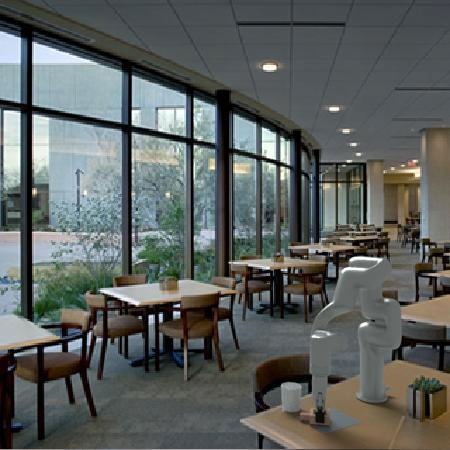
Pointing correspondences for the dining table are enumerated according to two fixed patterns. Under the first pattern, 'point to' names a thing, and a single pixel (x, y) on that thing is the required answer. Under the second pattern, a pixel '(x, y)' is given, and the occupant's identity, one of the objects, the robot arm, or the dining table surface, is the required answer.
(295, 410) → the white cup
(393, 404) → the dining table surface
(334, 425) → the board
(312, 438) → the dining table surface
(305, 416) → the square frame with tab
